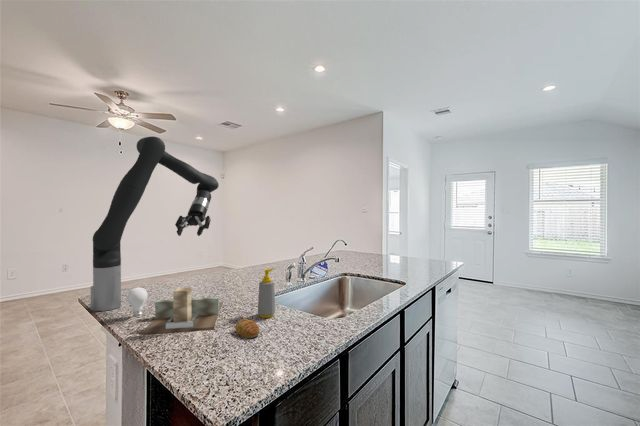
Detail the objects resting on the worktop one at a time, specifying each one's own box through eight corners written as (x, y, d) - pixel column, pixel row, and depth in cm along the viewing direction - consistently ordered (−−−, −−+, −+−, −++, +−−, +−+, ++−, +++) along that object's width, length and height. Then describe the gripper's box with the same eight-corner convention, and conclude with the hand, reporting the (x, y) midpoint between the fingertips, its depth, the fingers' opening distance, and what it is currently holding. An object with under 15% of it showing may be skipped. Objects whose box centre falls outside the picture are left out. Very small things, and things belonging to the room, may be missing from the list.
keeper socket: (165, 329, 95) (165, 323, 95) (173, 319, 103) (173, 314, 103) (193, 327, 97) (193, 321, 97) (198, 318, 105) (198, 312, 105)
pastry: (265, 335, 94) (265, 323, 94) (246, 342, 90) (246, 330, 89) (250, 326, 101) (250, 315, 101) (232, 332, 96) (232, 321, 96)
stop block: (173, 326, 98) (173, 291, 98) (178, 321, 102) (178, 287, 102) (187, 325, 98) (187, 291, 98) (191, 320, 103) (191, 287, 103)
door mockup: (142, 335, 93) (142, 313, 93) (167, 307, 118) (167, 291, 118) (213, 329, 98) (213, 309, 98) (223, 304, 123) (223, 288, 123)
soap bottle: (279, 315, 111) (279, 269, 111) (264, 320, 106) (264, 272, 106) (268, 310, 116) (268, 266, 116) (253, 315, 111) (254, 269, 111)
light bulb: (151, 315, 111) (151, 286, 110) (134, 321, 105) (134, 291, 104) (140, 312, 113) (140, 284, 113) (123, 318, 107) (123, 288, 107)
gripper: (181, 202, 134) (169, 229, 123) (212, 202, 135) (202, 229, 123) (186, 213, 140) (175, 240, 129) (215, 214, 140) (207, 240, 129)
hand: (188, 234), depth 126 cm, fingers open, 8 cm apart
